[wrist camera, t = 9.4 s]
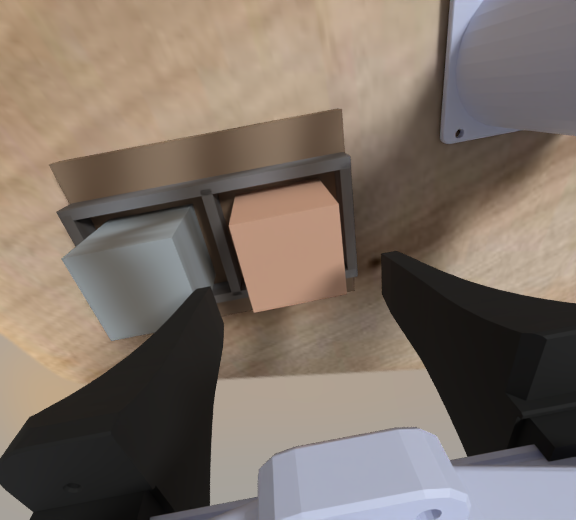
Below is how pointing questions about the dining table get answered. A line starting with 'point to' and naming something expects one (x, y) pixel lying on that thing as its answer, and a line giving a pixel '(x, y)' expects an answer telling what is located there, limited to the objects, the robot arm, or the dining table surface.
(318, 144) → the puzzle board
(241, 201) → the terracotta block
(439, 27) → the dining table surface
